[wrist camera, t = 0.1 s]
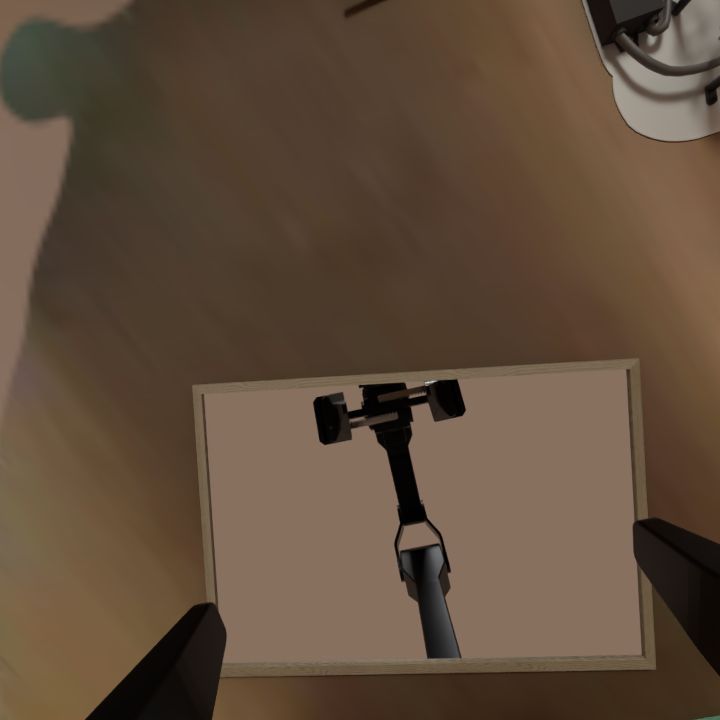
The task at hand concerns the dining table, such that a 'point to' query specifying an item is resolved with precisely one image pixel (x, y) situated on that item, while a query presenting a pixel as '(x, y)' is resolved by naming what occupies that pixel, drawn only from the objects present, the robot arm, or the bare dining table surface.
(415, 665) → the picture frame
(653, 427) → the dining table surface
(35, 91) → the dining table surface
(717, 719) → the mahjong tile
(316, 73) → the dining table surface
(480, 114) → the dining table surface
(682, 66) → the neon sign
